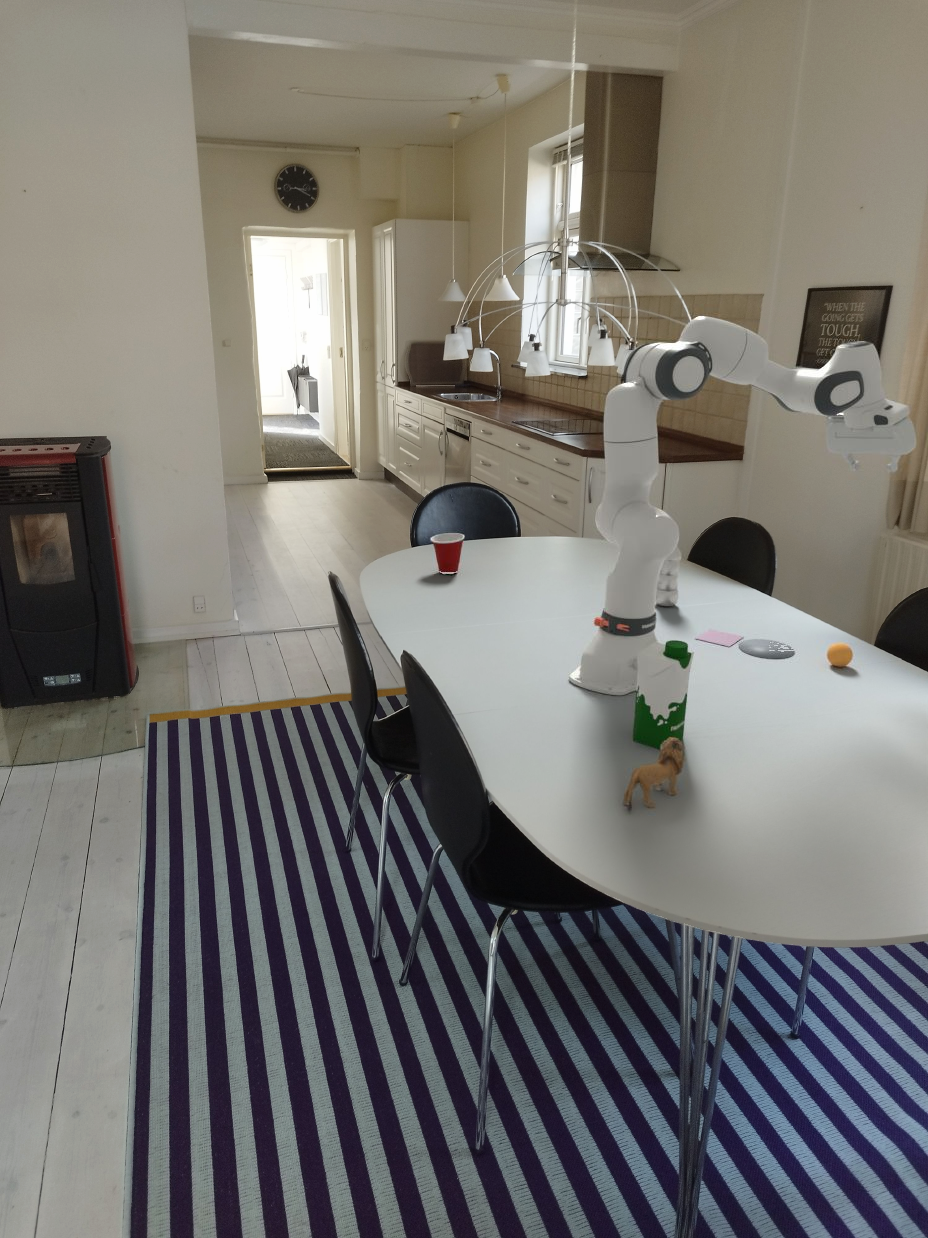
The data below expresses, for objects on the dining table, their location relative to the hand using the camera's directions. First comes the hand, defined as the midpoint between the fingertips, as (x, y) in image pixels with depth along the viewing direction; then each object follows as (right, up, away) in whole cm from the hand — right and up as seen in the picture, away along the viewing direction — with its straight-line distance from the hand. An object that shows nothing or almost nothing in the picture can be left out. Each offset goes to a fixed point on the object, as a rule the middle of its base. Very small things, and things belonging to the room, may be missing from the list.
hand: (873, 470), depth 196 cm
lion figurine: (-62, -64, -52) cm, 104 cm away
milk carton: (-57, -57, -33) cm, 87 cm away
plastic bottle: (-37, -31, +46) cm, 66 cm away
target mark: (-20, -42, +13) cm, 48 cm away
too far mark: (-29, -39, +20) cm, 53 cm away
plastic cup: (-99, -20, +77) cm, 127 cm away
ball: (-7, -43, +2) cm, 43 cm away
